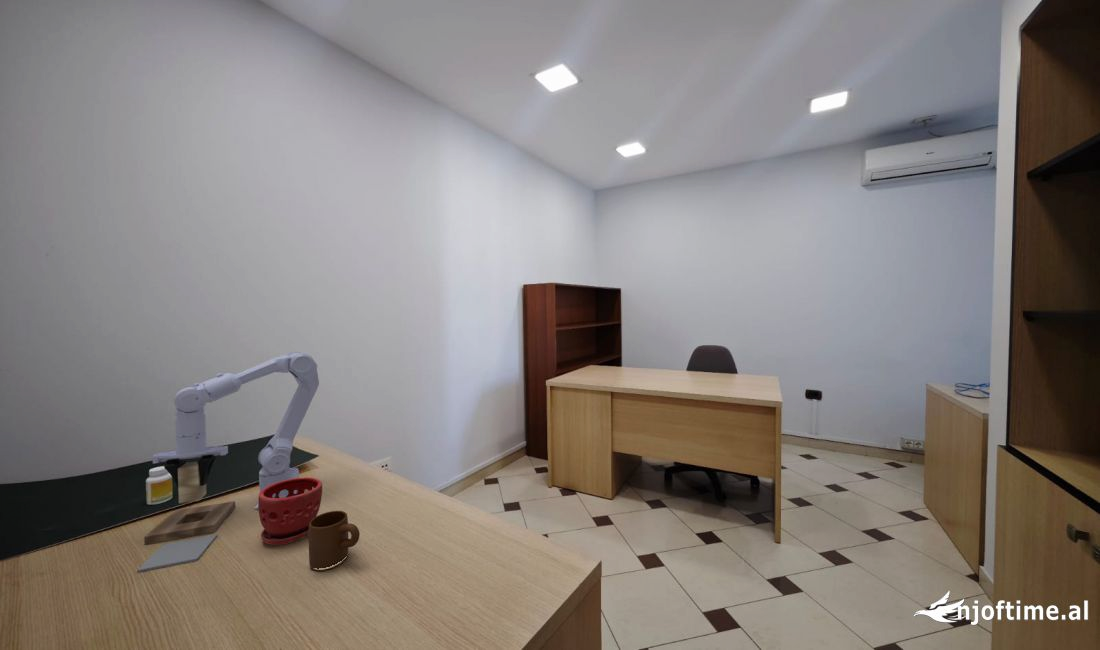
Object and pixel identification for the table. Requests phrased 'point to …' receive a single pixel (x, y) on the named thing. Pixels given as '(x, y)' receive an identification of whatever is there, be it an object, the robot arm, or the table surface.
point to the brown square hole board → (180, 529)
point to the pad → (178, 553)
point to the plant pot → (288, 509)
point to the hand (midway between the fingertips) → (192, 485)
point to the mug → (330, 538)
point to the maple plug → (190, 483)
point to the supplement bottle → (158, 486)
